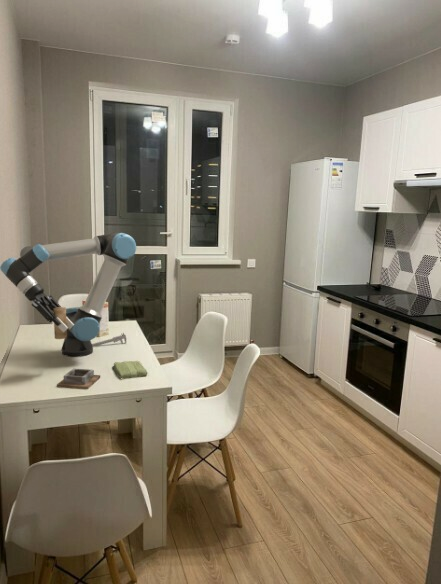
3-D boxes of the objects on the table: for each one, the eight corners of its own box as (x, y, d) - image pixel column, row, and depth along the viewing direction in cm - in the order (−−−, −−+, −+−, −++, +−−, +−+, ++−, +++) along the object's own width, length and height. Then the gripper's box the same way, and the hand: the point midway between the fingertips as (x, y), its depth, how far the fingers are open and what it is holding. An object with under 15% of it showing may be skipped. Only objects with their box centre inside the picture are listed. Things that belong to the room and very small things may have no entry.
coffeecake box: (82, 332, 254) (81, 300, 251) (92, 330, 260) (91, 298, 257) (99, 337, 246) (98, 303, 242) (109, 334, 252) (108, 301, 248)
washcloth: (139, 364, 205) (139, 357, 204) (148, 377, 189) (148, 370, 188) (111, 367, 200) (111, 360, 199) (118, 380, 184) (118, 373, 183)
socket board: (71, 375, 187) (71, 366, 186) (100, 377, 185) (100, 368, 185) (56, 386, 174) (56, 377, 173) (87, 389, 173) (87, 379, 172)
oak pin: (58, 335, 190) (56, 306, 188) (69, 336, 189) (67, 307, 187) (52, 338, 185) (51, 309, 183) (63, 339, 184) (62, 309, 182)
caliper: (126, 343, 236) (125, 332, 235) (126, 344, 235) (126, 332, 234) (87, 347, 228) (87, 335, 227) (87, 347, 227) (87, 336, 226)
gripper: (36, 291, 195) (72, 328, 195) (13, 298, 177) (52, 339, 178) (47, 280, 193) (83, 318, 194) (24, 286, 175) (64, 328, 176)
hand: (68, 328), depth 186 cm, fingers closed on oak pin, 5 cm apart
